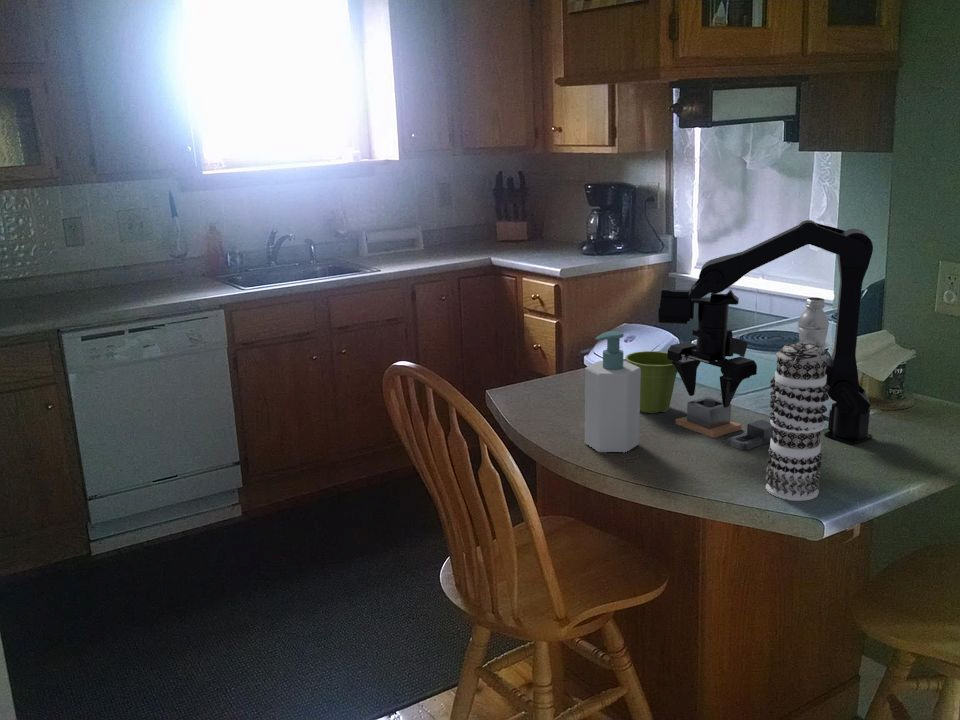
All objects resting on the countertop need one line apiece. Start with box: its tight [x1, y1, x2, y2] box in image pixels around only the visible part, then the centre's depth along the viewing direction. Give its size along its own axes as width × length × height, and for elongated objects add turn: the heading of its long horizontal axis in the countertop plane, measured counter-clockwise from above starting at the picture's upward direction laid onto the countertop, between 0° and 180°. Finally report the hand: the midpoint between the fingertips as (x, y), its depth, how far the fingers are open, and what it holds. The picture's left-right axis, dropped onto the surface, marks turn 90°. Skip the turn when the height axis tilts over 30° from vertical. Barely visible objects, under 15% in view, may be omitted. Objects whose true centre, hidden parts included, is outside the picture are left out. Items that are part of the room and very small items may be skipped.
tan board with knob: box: [675, 399, 742, 439], centre depth 183 cm, size 10×8×6 cm
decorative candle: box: [765, 341, 830, 502], centre depth 150 cm, size 9×9×25 cm
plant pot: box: [625, 350, 678, 414], centre depth 194 cm, size 12×12×11 cm
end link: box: [686, 396, 732, 429], centre depth 183 cm, size 6×6×4 cm
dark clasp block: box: [726, 419, 773, 452], centre depth 174 cm, size 4×10×3 cm, turn 123°
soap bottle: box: [584, 330, 641, 454], centre depth 172 cm, size 10×9×22 cm
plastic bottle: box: [797, 296, 830, 353], centre depth 206 cm, size 6×7×20 cm
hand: (708, 401), depth 182 cm, fingers open, 9 cm apart
